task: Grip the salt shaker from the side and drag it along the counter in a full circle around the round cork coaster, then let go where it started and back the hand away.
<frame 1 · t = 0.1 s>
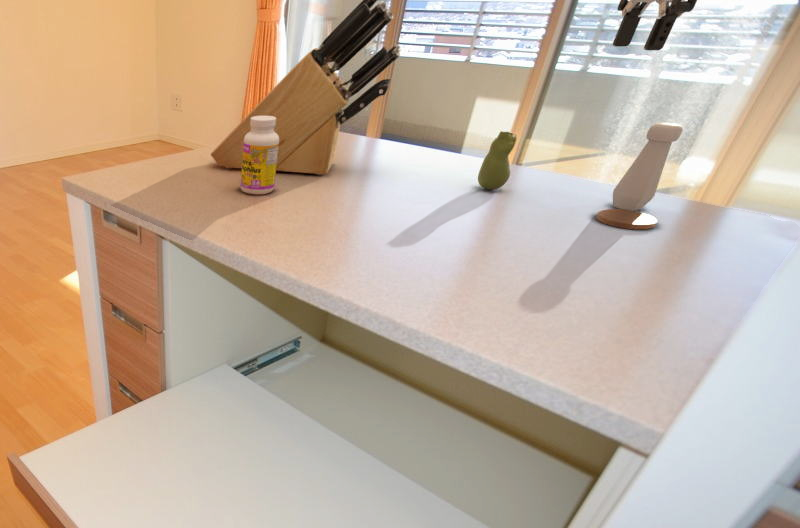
hand: (635, 48, 82), 23 cm above the table, tool pointing down, fingers open, 8 cm apart
salt shaker: (625, 208, 95), on the table
supplement bottle: (256, 191, 107), on the table
coaster: (624, 221, 89), on the table
knife block: (292, 169, 120), on the table
pear: (488, 190, 105), on the table
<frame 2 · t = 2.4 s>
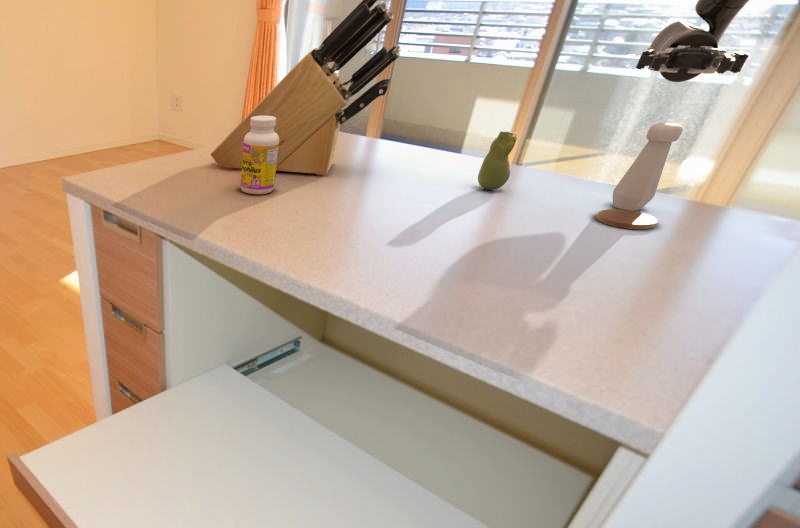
hand: (691, 64, 89), 20 cm above the table, tool horizontal, fingers open, 8 cm apart
nothing on the table moved.
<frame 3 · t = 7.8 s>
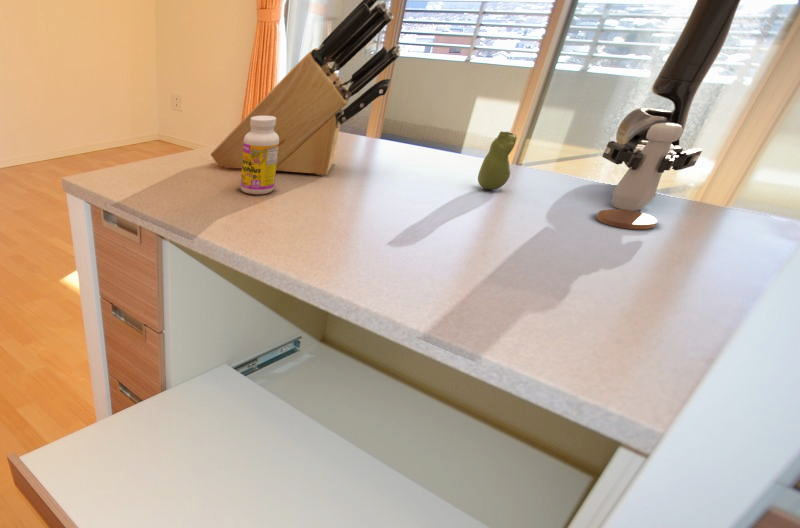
hand: (650, 164, 88), 8 cm above the table, tool horizontal, fingers closed on salt shaker, 3 cm apart
salt shaker: (626, 208, 95), on the table, touching gripper
everything else where it was.
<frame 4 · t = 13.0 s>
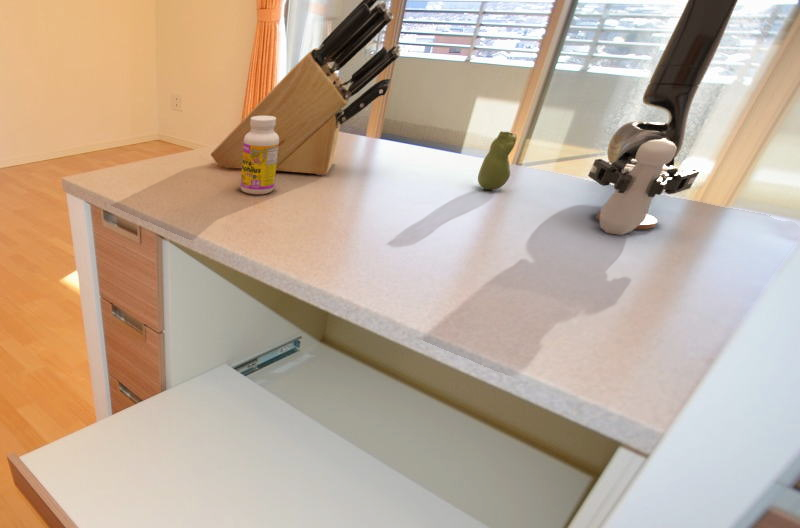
hand: (639, 187, 78), 8 cm above the table, tool horizontal, fingers closed on salt shaker, 3 cm apart
salt shaker: (614, 228, 85), on the table, touching gripper
everything else where it was.
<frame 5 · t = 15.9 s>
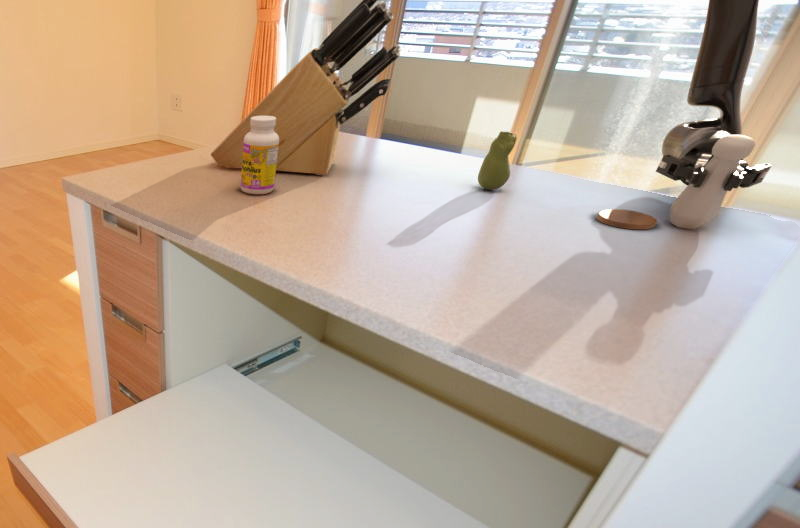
hand: (716, 181, 79), 8 cm above the table, tool horizontal, fingers closed on salt shaker, 3 cm apart
salt shaker: (684, 223, 87), on the table, touching gripper
everything else where it was.
when the fingers open (8 cm above the table, at t = 18.5 s): salt shaker stays where it is, on the table.
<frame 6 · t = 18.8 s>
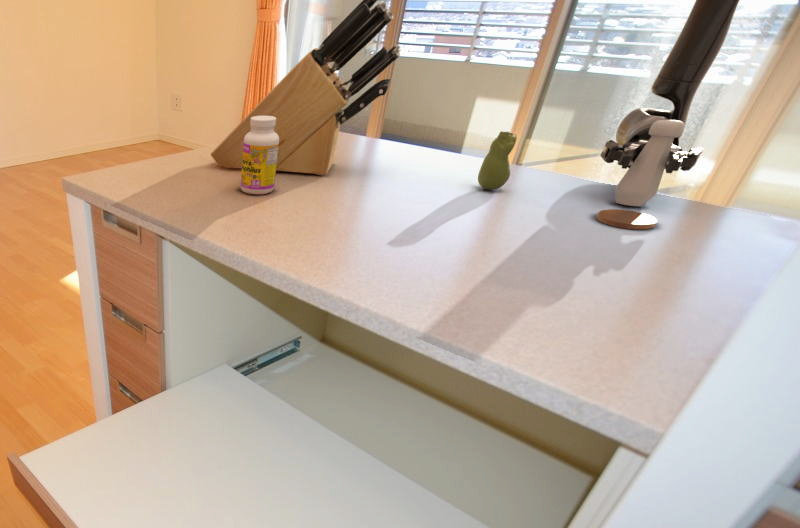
hand: (649, 164, 88), 7 cm above the table, tool horizontal, fingers open, 5 cm apart
salt shaker: (628, 205, 95), on the table
everything else where it was.
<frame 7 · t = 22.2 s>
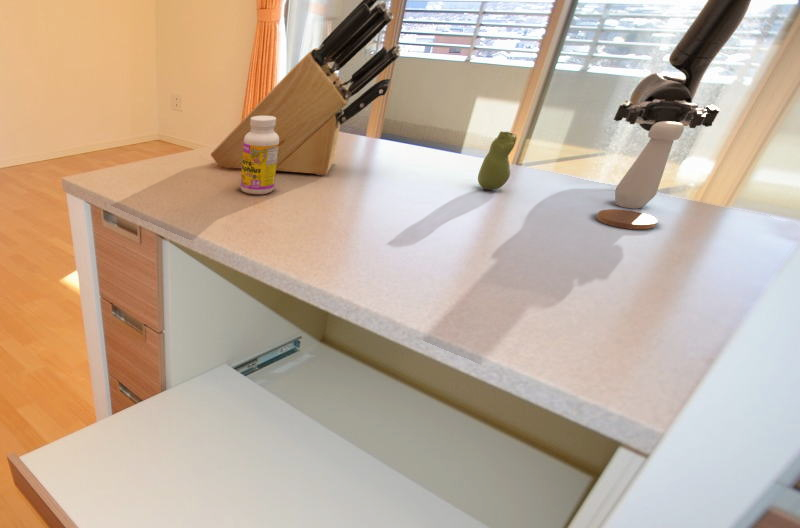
hand: (665, 119, 94), 12 cm above the table, tool horizontal, fingers open, 8 cm apart
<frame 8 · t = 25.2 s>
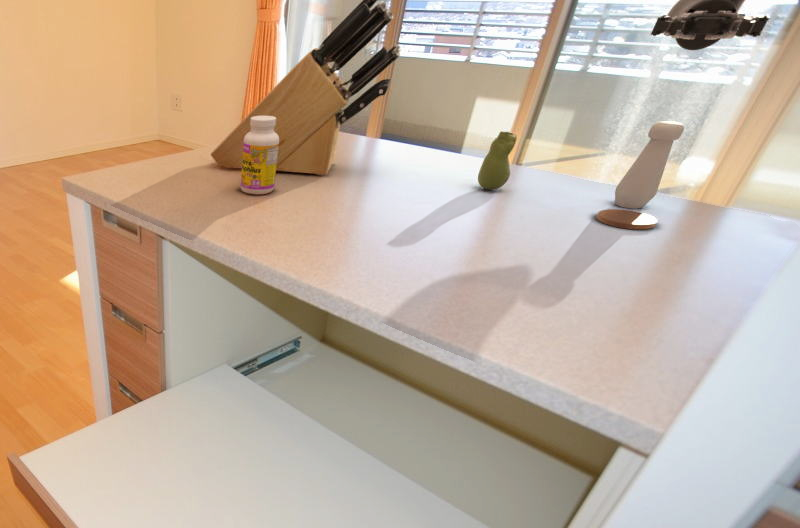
hand: (709, 27, 86), 25 cm above the table, tool horizontal, fingers open, 8 cm apart
nothing on the table moved.
at the end: salt shaker inside the target area (1.6 cm from its centre), on the table; salt shaker tilted 0°; the gripper is holding nothing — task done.
